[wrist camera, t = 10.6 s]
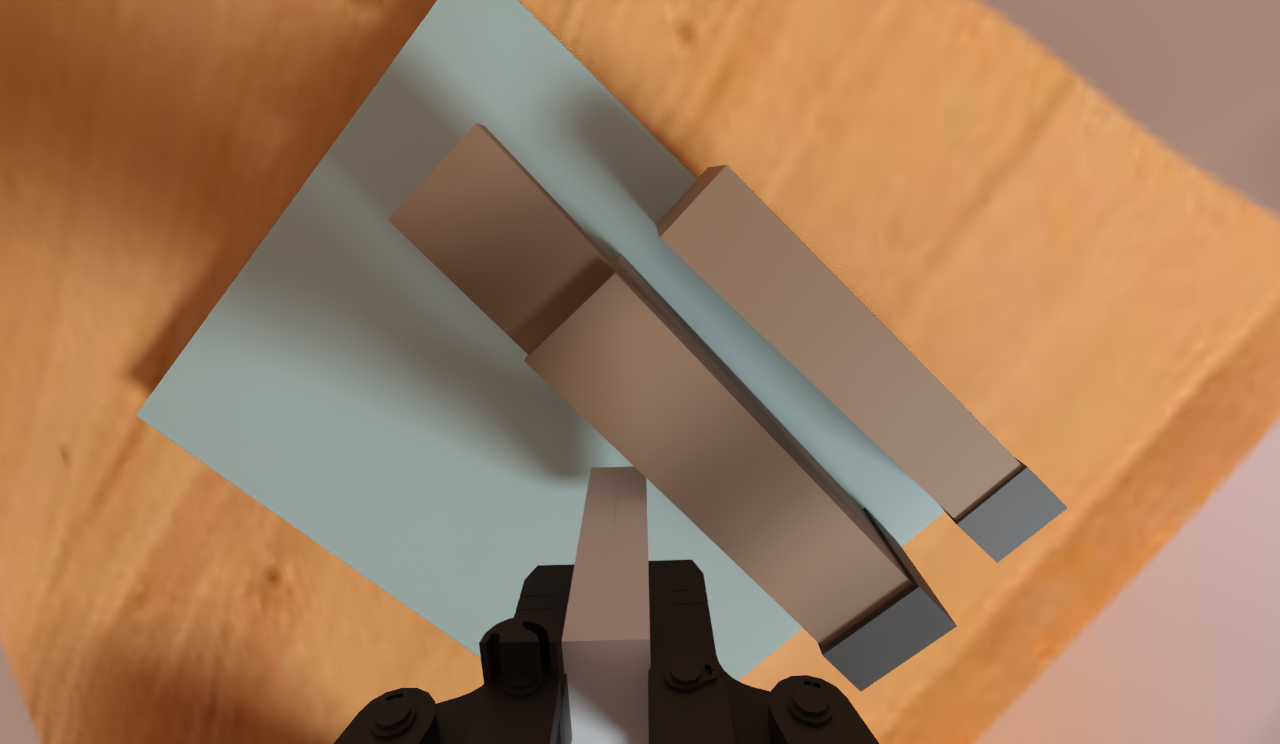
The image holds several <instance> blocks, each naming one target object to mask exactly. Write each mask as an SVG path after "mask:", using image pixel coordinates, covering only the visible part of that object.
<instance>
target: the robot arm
mask: <svg viewBox="0 0 1280 744" xmlns="http://www.w3.org/2000/svg"><path fill="white" fill-rule="evenodd" d="M479 648H480V655H481V663H482V670H483V677H484V684H483V686H481V687H480V688H478V689H476V690H475V691H473V692H471V693H469V694H466V695H463V696H461V697H458V698H455V699H451V700H448V701H444V702H441V703H437V704H435V701H434V700H433V698H432V697H431V696H430V694H429V693H428V692H425V691H423V690H421V689H418V688H400V689H397V690H393V691H390V692H386V693H384V694H383V695H381V696H379V697H377V698H376V699H374V700H372V701H371V702H370V703H369V704H367V705H366V706H365V707H364V708H363V709H362V710H361V711H360V712H359V713H358V714H357V716H356V717H355V718H354V719H353V720H352V722H351V723H350V724H349V725H348V727H347V728H346V729H345V730H344V732H343V733H342V734H341V735H340V737H339V738H338V739H337V740H336V741H335V743H334V744H879V743H878V741H877V740H876V738H875V737H874V735H873V734H872V733H871V731H870V730H869V728H868V727H867V725H866V724H865V723H864V721H863V720H862V718H861V717H860V716H859V714H858V713H857V711H856V710H855V708H854V707H853V706H852V704H851V703H850V701H849V700H848V698H847V697H846V696H845V695H844V694H843V693H842V692H841V691H840V690H839V689H838V688H837V687H836V686H834V685H832V684H830V683H828V682H826V681H825V680H823V679H820V678H815V677H811V676H807V675H804V676H791V677H789V678H786V679H784V680H782V681H779V682H778V684H777V685H776V686H775V687H774V688H773V689H772V690H771V692H770V691H766V690H762V689H758V688H754V687H751V686H748V685H745V684H742V683H741V682H739V681H737V680H735V679H734V678H732V677H731V676H730V675H729V674H728V673H727V672H725V671H724V669H723V668H722V666H721V665H720V663H719V661H718V658H717V655H716V649H715V643H714V636H713V630H712V624H711V618H710V611H709V606H708V599H707V593H706V586H705V580H704V574H703V572H702V571H701V570H700V569H699V567H698V566H697V565H696V564H695V563H694V561H693V560H659V561H649V539H648V508H647V478H646V477H645V476H644V475H643V474H642V473H641V472H640V471H639V470H637V469H636V468H635V467H634V466H628V467H594V468H591V471H590V477H589V483H588V488H587V494H586V500H585V506H584V512H583V518H582V524H581V530H580V536H579V542H578V547H577V553H576V559H575V564H572V565H538V566H537V567H536V568H535V569H534V570H533V571H532V572H531V573H530V574H529V575H528V577H527V578H526V579H525V580H524V583H523V587H522V590H521V594H520V599H519V601H518V604H517V608H516V613H515V615H514V618H509V619H507V620H505V621H502V622H500V623H498V624H496V625H495V626H493V627H492V628H491V629H490V630H488V631H487V632H486V633H485V634H484V636H483V638H482V639H481V641H480V642H479Z"/></svg>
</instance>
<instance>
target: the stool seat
mask: <svg viewBox="0 0 1280 744" xmlns="http://www.w3.org/2000/svg"><path fill="white" fill-rule="evenodd" d="M475 123H478V124H481V125H484V126H485V127H486V128H487V129H488V130H489V131H490V132H491V133H492V134H493V135H494V136H495V137H496V138H497V140H498V141H499V142H500V143H501V144H502V145H503V146H504V147H505V148H506V149H507V150H508V151H509V152H510V153H511V154H512V155H513V156H514V157H515V158H516V159H517V161H518V162H519V163H520V164H521V165H522V166H523V167H524V168H525V169H526V170H527V171H528V172H529V173H530V174H531V175H532V176H533V177H534V178H535V179H536V180H537V182H538V183H539V184H540V185H541V186H542V187H543V188H544V189H545V190H546V191H547V192H548V193H549V194H550V195H551V196H552V197H553V198H554V199H555V200H556V202H557V203H558V204H559V205H560V206H561V207H562V208H563V209H564V210H565V211H566V212H567V213H568V214H569V215H570V216H571V217H572V218H573V219H574V220H575V221H576V223H577V224H578V225H579V226H580V227H581V228H582V229H583V230H584V231H585V232H586V233H587V234H588V235H589V236H590V237H591V238H592V239H593V240H594V241H595V242H596V244H597V245H598V246H599V247H600V248H601V249H602V250H603V251H604V252H605V253H606V254H607V255H608V256H609V257H610V258H611V259H612V260H614V259H615V258H616V257H617V256H618V255H619V254H620V253H621V254H622V255H623V256H624V257H625V258H626V259H627V260H628V261H629V262H630V263H631V265H632V266H633V267H634V268H635V269H636V270H637V271H638V272H639V273H640V274H641V275H642V276H643V277H644V278H645V279H646V280H647V281H648V283H649V284H650V285H651V286H652V287H653V288H654V289H655V290H656V291H657V292H658V293H659V294H660V295H661V296H662V297H663V298H664V299H665V301H666V302H667V303H668V304H669V305H670V306H671V307H672V308H673V309H674V310H675V311H676V312H677V313H678V314H679V315H680V316H681V317H682V319H683V320H684V321H685V322H686V323H687V324H688V325H689V326H690V327H691V328H692V329H693V330H694V331H695V332H696V333H697V334H698V335H699V337H700V338H701V339H702V340H703V341H704V342H705V343H706V344H707V345H708V346H709V347H710V348H711V349H712V350H713V351H714V352H715V353H716V355H717V356H718V357H719V358H720V359H721V360H722V361H723V362H724V363H725V364H726V365H727V366H728V367H729V368H730V369H731V370H732V371H733V373H734V374H735V375H736V376H737V377H738V378H739V379H740V380H741V381H742V382H743V383H744V384H745V385H746V386H747V387H748V388H749V389H750V391H751V392H752V393H753V394H754V395H755V396H756V397H757V398H758V399H759V400H760V401H761V402H762V403H763V404H764V405H765V406H766V407H767V409H768V410H769V411H770V412H771V413H772V414H773V415H774V416H775V417H776V418H777V419H778V420H779V421H780V422H781V423H782V424H783V425H784V427H785V428H786V429H787V430H788V431H789V432H790V433H791V434H792V435H793V436H794V437H795V438H796V439H797V440H798V441H799V442H800V443H801V445H802V446H803V447H804V448H805V449H806V450H807V451H808V452H809V453H810V454H811V455H812V456H813V457H814V458H815V459H816V460H817V461H818V463H819V464H820V465H821V466H822V467H823V468H824V469H825V470H826V471H827V472H828V473H829V474H830V475H831V476H832V477H833V478H834V479H835V481H836V482H837V483H838V484H839V485H840V486H841V487H842V488H843V489H844V490H845V491H846V492H847V493H848V494H849V495H850V496H851V497H852V499H853V500H854V501H855V502H856V503H857V504H858V505H859V506H860V507H861V508H862V509H864V508H865V507H866V509H867V510H868V511H869V512H870V513H871V514H872V515H873V516H874V517H875V518H876V519H877V520H878V521H879V522H880V523H881V524H882V526H883V527H884V528H885V529H886V530H887V531H888V532H889V533H890V534H891V535H892V536H893V537H894V538H895V539H896V540H897V542H898V543H899V545H900V546H901V547H902V546H903V545H905V544H906V543H907V542H908V541H910V540H911V539H912V538H913V537H914V536H916V535H917V534H918V533H919V532H921V531H922V530H923V529H924V528H925V527H927V526H928V525H929V524H930V523H932V522H933V521H934V520H935V519H936V518H938V517H939V516H940V515H941V514H942V513H944V512H946V513H947V514H948V515H949V516H950V517H951V519H952V520H953V521H954V522H955V523H956V524H957V525H958V526H959V527H960V528H961V529H962V530H963V531H964V532H965V533H966V534H967V535H969V536H970V537H971V538H972V539H973V540H974V541H975V542H976V543H977V544H978V545H979V546H980V547H981V548H982V549H983V550H984V551H985V552H986V553H987V554H988V555H990V556H991V557H992V558H993V559H994V560H995V561H996V562H997V563H998V562H999V561H1000V560H1001V559H1003V558H1004V557H1005V556H1007V555H1008V554H1009V553H1010V552H1012V551H1013V550H1014V549H1016V548H1017V547H1018V546H1019V545H1021V544H1022V543H1023V542H1025V541H1026V540H1027V539H1028V538H1030V537H1031V536H1032V535H1034V534H1035V533H1036V532H1037V531H1039V530H1040V529H1041V528H1043V527H1044V526H1045V525H1046V524H1048V523H1049V522H1050V521H1052V520H1053V519H1054V518H1055V517H1057V516H1058V515H1059V514H1061V513H1062V512H1063V511H1064V510H1066V509H1067V507H1066V506H1065V505H1064V504H1063V503H1062V502H1061V501H1060V500H1059V499H1058V498H1057V497H1056V496H1055V495H1054V494H1053V493H1052V492H1051V490H1050V489H1049V488H1048V487H1047V486H1046V485H1045V484H1044V483H1043V482H1042V481H1041V480H1040V479H1039V478H1038V477H1037V476H1036V475H1035V474H1034V473H1033V472H1032V471H1031V470H1030V469H1029V468H1028V467H1027V466H1025V465H1024V464H1023V463H1021V462H1020V461H1019V460H1017V459H1016V458H1015V457H1013V456H1012V455H1011V454H1010V453H1009V452H1008V451H1007V450H1006V448H1005V447H1004V446H1003V445H1002V444H1001V443H1000V442H999V441H998V440H997V439H996V438H995V437H994V436H993V435H992V434H991V433H990V432H989V431H988V430H987V429H986V428H985V427H984V426H983V425H982V424H981V423H980V422H979V421H978V420H977V419H976V418H975V417H974V416H973V415H972V414H971V413H970V412H969V411H968V410H967V409H966V408H965V407H964V406H963V405H962V404H961V403H960V402H959V401H958V400H957V399H956V398H955V397H954V396H953V395H952V394H951V393H950V392H949V390H948V389H947V388H946V387H945V386H944V385H943V384H942V383H941V382H940V381H939V380H938V379H937V378H936V377H935V376H934V375H933V374H932V373H931V372H930V371H929V370H928V369H927V368H926V367H925V366H924V365H923V364H922V363H921V362H920V361H919V360H918V359H917V358H916V357H915V356H914V355H913V354H912V353H911V352H910V351H909V350H908V349H907V348H906V347H905V346H904V345H903V344H902V343H901V342H900V341H899V340H898V339H897V338H896V337H895V336H894V335H893V334H892V332H891V331H890V330H889V329H888V328H887V327H886V326H885V325H884V324H883V323H882V322H881V321H880V320H879V319H878V318H877V317H876V316H875V315H874V314H873V313H872V312H871V311H870V310H869V309H868V308H867V307H866V306H865V305H864V304H863V303H862V302H861V301H860V300H859V299H858V298H857V297H856V296H855V295H854V294H853V293H852V292H851V291H850V290H849V289H848V288H847V287H846V286H845V285H844V284H843V283H842V282H841V281H840V280H839V279H838V278H837V277H836V276H835V274H834V273H833V272H832V271H831V270H830V269H829V268H828V267H827V266H826V265H825V264H824V263H823V262H822V261H821V260H820V259H819V258H818V257H817V256H816V255H815V254H814V253H813V252H812V251H811V250H810V249H809V248H808V247H807V246H806V245H805V244H804V243H803V242H802V241H801V240H800V239H799V238H798V237H797V236H796V235H795V234H794V233H793V232H792V231H791V230H790V229H789V228H788V227H787V226H786V225H785V224H784V223H783V222H782V221H781V220H780V219H779V218H778V216H777V215H776V214H775V213H774V212H773V211H772V210H771V209H770V208H769V207H768V206H767V205H766V204H765V203H764V202H763V201H762V200H761V199H760V198H759V197H758V196H757V195H756V194H755V193H754V192H753V191H752V190H751V189H750V188H749V187H748V186H747V185H746V184H745V183H744V182H743V181H742V180H741V179H740V178H739V177H738V176H737V175H736V174H735V173H734V172H733V171H732V170H731V169H730V168H729V167H728V166H727V165H722V166H715V167H708V168H707V170H706V171H705V172H704V173H703V174H702V175H701V176H700V177H699V178H698V179H697V178H696V177H695V176H694V175H693V174H692V173H691V172H690V171H689V170H688V169H687V168H686V167H685V166H684V165H683V164H682V163H681V162H680V161H679V160H678V159H677V158H676V157H675V156H674V155H673V154H672V153H671V152H670V151H669V150H668V149H667V148H666V147H665V146H664V145H663V144H662V143H661V142H660V141H659V140H658V139H657V138H656V137H655V136H654V135H653V134H652V133H651V132H650V131H649V130H648V129H647V128H646V127H645V126H644V125H643V124H642V123H641V122H640V121H639V120H638V119H637V118H636V117H635V116H634V115H633V114H632V113H631V112H630V111H629V110H628V109H627V108H626V107H625V106H624V105H623V104H622V103H621V102H620V101H619V100H618V99H617V98H616V97H615V96H614V95H613V94H612V93H611V92H610V91H609V90H608V89H607V88H606V87H605V86H604V85H603V84H602V83H601V82H600V81H599V80H598V79H597V78H596V77H595V76H593V75H592V74H591V73H590V72H589V71H588V70H587V69H586V68H585V67H584V66H583V65H582V64H581V63H580V62H579V61H578V60H577V59H576V58H575V57H574V56H573V55H572V54H571V53H570V52H569V51H568V50H567V49H566V48H565V47H564V46H563V45H562V44H561V43H560V42H559V41H558V40H557V39H556V38H555V37H554V36H553V35H552V34H551V33H550V32H549V31H548V30H547V29H546V28H545V27H544V26H543V25H542V24H541V23H540V22H539V21H538V20H537V19H536V18H535V17H534V16H533V15H532V14H531V13H530V12H529V11H528V10H527V9H526V8H525V7H524V6H523V5H522V4H521V3H520V2H519V1H518V0H437V1H436V3H435V4H434V5H433V7H432V8H431V10H430V11H429V12H428V14H427V15H426V16H425V18H424V19H423V21H422V22H421V23H420V25H419V26H418V27H417V29H416V30H415V32H414V33H413V34H412V36H411V37H410V38H409V40H408V41H407V43H406V44H405V45H404V47H403V48H402V49H401V51H400V52H399V54H398V55H397V56H396V58H395V59H394V60H393V62H392V63H391V65H390V66H389V67H388V69H387V70H386V72H385V73H384V74H383V76H382V77H381V78H380V80H379V81H378V83H377V84H376V85H375V87H374V88H373V89H372V91H371V92H370V94H369V95H368V96H367V98H366V99H365V100H364V102H363V103H362V105H361V106H360V107H359V109H358V110H357V111H356V113H355V114H354V116H353V117H352V118H351V120H350V121H349V122H348V124H347V125H346V127H345V128H344V129H343V131H342V132H341V133H340V135H339V136H338V138H337V139H336V140H335V142H334V143H333V144H332V146H331V147H330V149H329V150H328V151H327V153H326V154H325V155H324V157H323V158H322V160H321V161H320V162H319V164H318V165H317V166H316V168H315V169H314V171H313V172H312V173H311V175H310V176H309V177H308V179H307V180H306V182H305V183H304V184H303V186H302V187H301V188H300V190H299V191H298V193H297V194H296V195H295V197H294V198H293V199H292V201H291V202H290V204H289V205H288V206H287V208H286V209H285V210H284V212H283V213H282V215H281V216H280V217H279V219H278V220H277V222H276V223H275V224H274V226H273V227H272V228H271V230H270V231H269V233H268V234H267V235H266V237H265V238H264V239H263V241H262V242H261V244H260V245H259V246H258V248H257V249H256V250H255V252H254V253H253V255H252V256H251V257H250V259H249V260H248V261H247V263H246V264H245V266H244V267H243V268H242V270H241V271H240V272H239V274H238V275H237V277H236V278H235V279H234V281H233V282H232V283H231V285H230V286H229V288H228V289H227V290H226V292H225V293H224V294H223V296H222V297H221V299H220V300H219V301H218V303H217V304H216V305H215V307H214V308H213V310H212V311H211V312H210V314H209V315H208V316H207V318H206V319H205V321H204V322H203V323H202V325H201V326H200V327H199V329H198V330H197V332H196V333H195V334H194V336H193V337H192V338H191V340H190V341H189V343H188V344H187V345H186V347H185V348H184V349H183V351H182V352H181V354H180V355H179V356H178V358H177V359H176V360H175V362H174V363H173V365H172V366H171V367H170V369H169V370H168V371H167V373H166V374H165V376H164V377H163V378H162V380H161V381H160V383H159V384H158V385H157V387H156V388H155V389H154V391H153V392H152V394H151V395H150V396H149V398H148V399H147V400H146V402H145V403H144V405H143V406H142V407H141V409H140V410H139V411H138V413H137V414H136V416H137V417H139V418H140V419H141V420H143V421H144V422H146V423H147V424H149V425H150V426H151V427H153V428H154V429H156V430H157V431H159V432H160V433H161V434H163V435H164V436H166V437H167V438H168V439H170V440H171V441H173V442H174V443H176V444H177V445H178V446H180V447H181V448H183V449H184V450H186V451H187V452H188V453H190V454H191V455H193V456H194V457H196V458H197V459H198V460H200V461H201V462H203V463H204V464H205V465H207V466H208V467H210V468H211V469H213V470H214V471H215V472H217V473H218V474H220V475H221V476H223V477H224V478H225V479H227V480H228V481H230V482H231V483H233V484H234V485H235V486H237V487H238V488H240V489H241V490H242V491H244V492H245V493H247V494H248V495H250V496H251V497H252V498H254V499H255V500H257V501H258V502H260V503H261V504H262V505H264V506H265V507H267V508H268V509H270V510H271V511H272V512H274V513H275V514H277V515H278V516H279V517H281V518H282V519H284V520H285V521H287V522H288V523H289V524H291V525H292V526H294V527H295V528H297V529H298V530H299V531H301V532H302V533H304V534H305V535H307V536H308V537H309V538H311V539H312V540H314V541H315V542H316V543H318V544H319V545H321V546H322V547H324V548H325V549H326V550H328V551H329V552H331V553H332V554H334V555H335V556H336V557H338V558H339V559H341V560H342V561H344V562H345V563H346V564H348V565H349V566H351V567H352V568H353V569H355V570H356V571H358V572H359V573H361V574H362V575H363V576H365V577H366V578H368V579H369V580H371V581H372V582H373V583H375V584H376V585H378V586H379V587H381V588H382V589H383V590H385V591H386V592H388V593H389V594H390V595H392V596H393V597H395V598H396V599H398V600H399V601H400V602H402V603H403V604H405V605H406V606H408V607H409V608H410V609H412V610H413V611H415V612H416V613H418V614H419V615H420V616H422V617H423V618H425V619H426V620H427V621H429V622H430V623H432V624H433V625H435V626H436V627H437V628H439V629H440V630H442V631H443V632H445V633H446V634H447V635H449V636H450V637H452V638H453V639H455V640H456V641H457V642H459V643H460V644H462V645H463V646H464V647H466V648H467V649H469V650H470V651H472V652H473V653H474V654H476V655H477V656H479V657H480V658H481V655H480V648H479V642H480V641H481V639H482V638H483V636H484V634H485V633H486V632H487V631H488V630H490V629H491V628H492V627H493V626H495V625H496V624H498V623H500V622H502V621H505V620H507V619H509V618H514V615H515V613H516V608H517V604H518V601H519V599H520V594H521V590H522V587H523V583H524V580H525V579H526V578H527V577H528V575H529V574H530V573H531V572H532V571H533V570H534V569H535V568H536V567H537V566H538V565H572V564H575V559H576V553H577V547H578V542H579V536H580V530H581V524H582V518H583V512H584V506H585V500H586V494H587V488H588V483H589V477H590V471H591V468H594V467H628V466H633V465H632V464H631V463H630V462H629V461H628V460H627V459H626V458H625V457H624V456H623V455H622V454H621V453H620V452H619V451H618V450H617V449H616V448H614V447H613V446H612V445H611V444H610V443H609V442H608V441H607V440H606V439H605V438H604V437H603V436H602V435H601V434H600V433H599V432H598V431H597V430H596V429H595V428H594V427H592V426H591V425H590V424H589V423H588V422H587V421H586V420H585V419H584V418H583V417H582V416H581V415H580V414H579V413H578V412H577V411H576V410H575V409H574V408H573V407H572V406H571V405H569V404H568V403H567V402H566V401H565V400H564V399H563V398H562V397H561V396H560V395H559V394H558V393H557V392H556V391H555V390H554V389H553V388H552V387H551V386H550V385H549V384H548V383H546V382H545V381H544V380H543V379H542V378H541V377H540V376H539V375H538V374H537V373H536V372H535V371H534V370H533V369H532V368H531V367H530V366H529V365H528V364H527V363H526V362H524V360H525V358H526V357H527V355H528V354H527V353H526V352H525V351H524V350H523V349H521V348H520V347H519V346H518V345H517V344H516V343H515V342H514V341H513V340H512V339H511V338H510V337H509V336H508V335H507V334H506V333H505V332H504V331H503V330H502V329H501V328H500V327H499V326H498V325H496V324H495V323H494V322H493V321H492V320H491V319H490V318H489V317H488V316H487V315H486V314H485V313H484V312H483V311H482V310H481V309H480V308H479V307H478V306H477V305H476V304H475V303H474V302H473V301H472V300H470V299H469V298H468V297H467V296H466V295H465V294H464V293H463V292H462V291H461V290H460V289H459V288H458V287H457V286H456V285H455V284H454V283H453V282H452V281H451V280H450V279H449V278H448V277H447V276H446V275H444V274H443V273H442V272H441V271H440V270H439V269H438V268H437V267H436V266H435V265H434V264H433V263H432V262H431V261H430V260H429V259H428V258H427V257H426V256H425V255H424V254H423V253H422V252H421V251H419V250H418V249H417V248H416V247H415V246H414V245H413V244H412V243H411V242H410V241H409V240H408V239H407V238H406V237H405V236H404V235H403V234H402V233H401V232H400V231H399V230H398V229H397V228H396V227H395V226H393V225H392V224H391V223H390V222H389V221H388V219H389V218H390V217H391V216H392V215H393V214H394V213H395V212H396V211H397V209H398V208H399V207H400V206H401V205H402V204H403V203H404V202H405V201H406V200H407V198H408V197H409V196H410V195H411V194H412V193H413V192H414V191H415V190H416V188H417V187H418V186H419V185H420V184H421V183H422V182H423V181H424V180H425V179H426V177H427V176H428V175H429V174H430V173H431V172H432V171H433V170H434V169H435V168H436V166H437V165H438V164H439V163H440V162H441V161H442V160H443V159H444V158H445V156H446V155H447V154H448V153H449V152H450V151H451V150H452V149H453V148H454V147H455V145H456V144H457V143H458V142H459V141H460V140H461V139H462V138H463V137H464V136H465V134H466V133H467V132H468V131H469V130H470V129H471V128H472V127H473V126H474V125H475ZM647 508H648V539H649V561H659V560H693V561H694V563H695V564H696V565H697V566H698V567H699V569H700V570H701V571H702V572H703V574H704V580H705V586H706V593H707V599H708V606H709V611H710V618H711V624H712V630H713V636H714V643H715V649H716V655H717V658H718V661H719V663H720V665H721V666H722V668H723V669H724V671H725V672H727V673H728V674H729V675H730V676H731V677H732V678H734V679H735V680H737V681H739V680H740V679H741V678H743V677H744V676H745V675H746V674H747V673H749V672H750V671H751V670H752V669H753V668H755V667H756V666H757V665H758V664H760V663H761V662H762V661H763V660H764V659H766V658H767V657H768V656H769V655H771V654H772V653H773V652H774V651H775V650H777V649H778V648H779V647H780V646H782V645H783V644H784V643H785V642H786V641H788V640H789V639H790V638H791V637H793V636H794V635H795V634H796V633H797V632H799V631H800V630H801V629H802V628H803V627H802V626H801V625H800V624H799V623H798V622H796V621H795V620H794V619H793V618H792V617H791V616H790V615H789V614H788V613H787V612H786V611H785V610H784V609H783V608H782V607H781V606H780V605H779V604H778V603H777V602H776V601H775V600H773V599H772V598H771V597H770V596H769V595H768V594H767V593H766V592H765V591H764V590H763V589H762V588H761V587H760V586H759V585H758V584H757V583H756V582H755V581H754V580H753V579H752V578H750V577H749V576H748V575H747V574H746V573H745V572H744V571H743V570H742V569H741V568H740V567H739V566H738V565H737V564H736V563H735V562H734V561H733V560H732V559H731V558H730V557H728V556H727V555H726V554H725V553H724V552H723V551H722V550H721V549H720V548H719V547H718V546H717V545H716V544H715V543H714V542H713V541H712V540H711V539H710V538H709V537H708V536H707V535H705V534H704V533H703V532H702V531H701V530H700V529H699V528H698V527H697V526H696V525H695V524H694V523H693V522H692V521H691V520H690V519H689V518H688V517H687V516H686V515H685V514H684V513H682V512H681V511H680V510H679V509H678V508H677V507H676V506H675V505H674V504H673V503H672V502H671V501H670V500H669V499H668V498H667V497H666V496H665V495H664V494H663V493H662V492H660V491H659V490H658V489H657V488H656V487H655V486H654V485H653V484H652V483H651V482H650V481H649V480H648V479H647Z"/></svg>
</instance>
